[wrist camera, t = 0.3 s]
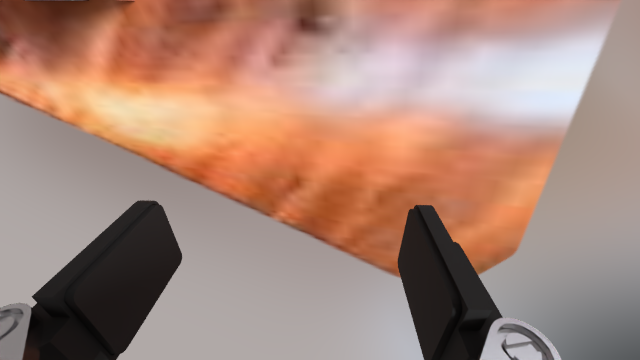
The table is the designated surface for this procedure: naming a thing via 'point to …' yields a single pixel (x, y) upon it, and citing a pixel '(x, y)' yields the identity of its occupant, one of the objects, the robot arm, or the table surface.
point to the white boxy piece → (73, 0)
